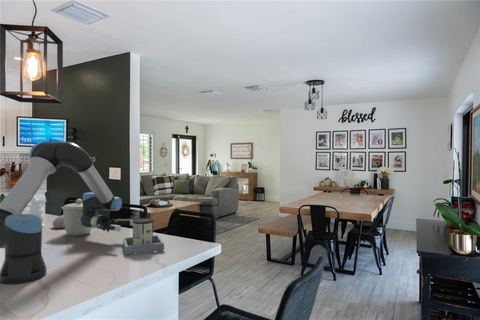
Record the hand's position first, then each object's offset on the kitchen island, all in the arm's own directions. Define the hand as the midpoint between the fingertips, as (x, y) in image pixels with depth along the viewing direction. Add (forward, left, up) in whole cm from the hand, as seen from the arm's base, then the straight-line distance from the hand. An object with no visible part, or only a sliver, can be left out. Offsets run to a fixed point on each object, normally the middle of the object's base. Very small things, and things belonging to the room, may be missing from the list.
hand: (130, 226), depth 168 cm
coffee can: (-7, -6, -10) cm, 14 cm away
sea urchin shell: (+64, +36, -11) cm, 74 cm away
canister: (+39, +26, -11) cm, 48 cm away
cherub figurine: (+69, +51, -11) cm, 87 cm away
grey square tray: (-7, -6, -10) cm, 14 cm away
